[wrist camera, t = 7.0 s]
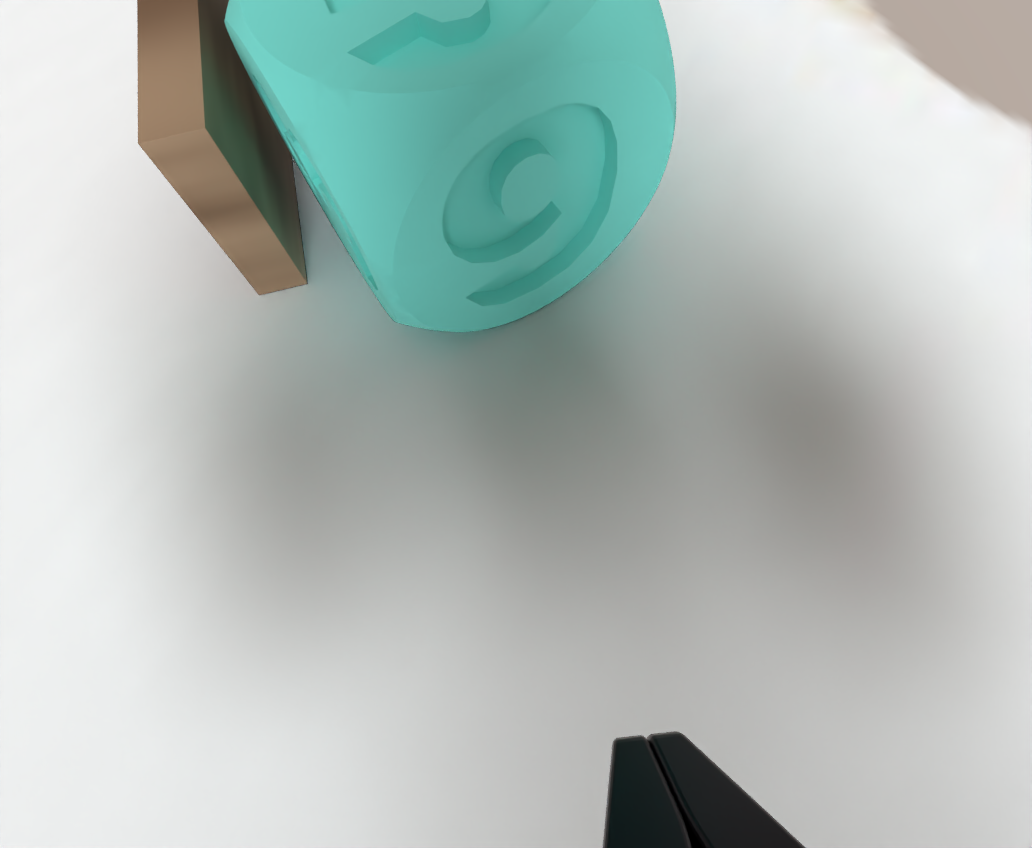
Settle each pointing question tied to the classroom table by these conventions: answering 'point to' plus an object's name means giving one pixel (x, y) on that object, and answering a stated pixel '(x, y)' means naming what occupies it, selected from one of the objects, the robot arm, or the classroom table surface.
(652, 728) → the classroom table surface
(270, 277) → the corner arena
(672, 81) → the decorative dice
